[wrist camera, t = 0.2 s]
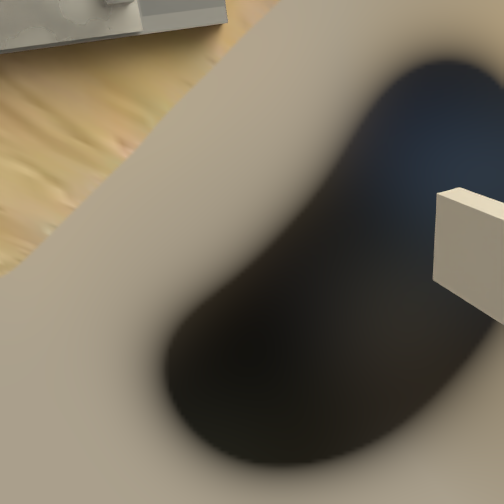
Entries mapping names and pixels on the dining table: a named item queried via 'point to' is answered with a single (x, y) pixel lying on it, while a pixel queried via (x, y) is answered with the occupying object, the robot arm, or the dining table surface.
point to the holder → (160, 19)
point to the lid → (64, 20)
